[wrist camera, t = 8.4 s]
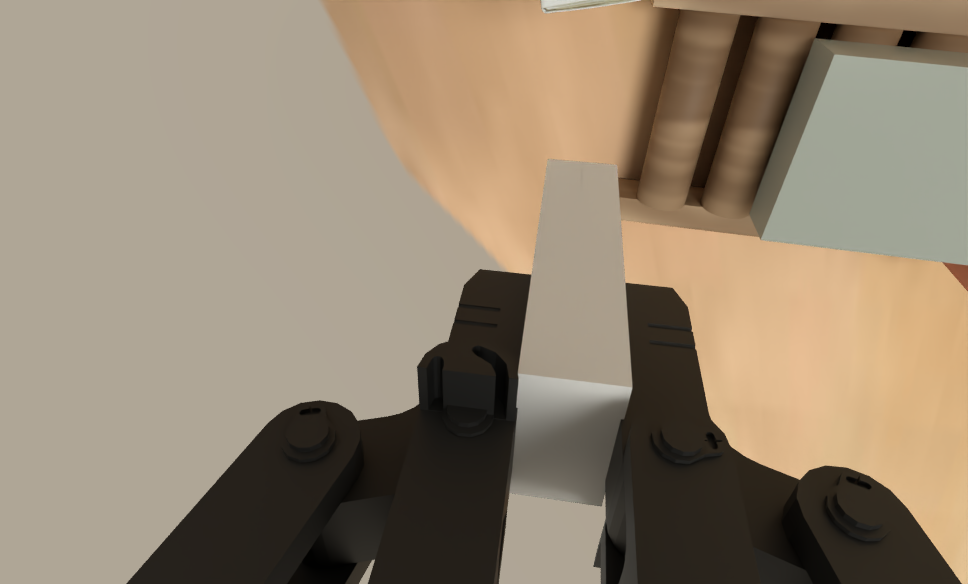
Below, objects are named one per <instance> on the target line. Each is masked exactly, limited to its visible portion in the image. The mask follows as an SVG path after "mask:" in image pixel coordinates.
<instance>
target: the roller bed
mask: <svg viewBox="0 0 968 584" xmlns="http://www.w3.org/2000/svg"><path fill="white" fill-rule="evenodd" d="M650 1H651V3H652V6H653V7H662V8H673V9H680V13H679V18H678V22H677V26H676V30H675V35H674V39H673V43H672V47H671V51H670V56H669V60H668V64H667V68H666V73H665V77H664V81H663V85H662V89H661V94H660V98H659V102H658V106H657V111H656V115H655V119H654V123H653V127H652V132H651V136H650V140H649V144H648V149H647V153H646V157H645V161H644V165H643V170H642V174H641V178H640V181H639V180H630V179H622V178H618V185H619V200H620V214H621V220H622V221H631V222H639V223H647V224H655V225H664V226H672V227H680V228H689V229H697V230H705V231H714V232H722V233H730V234H738V235H747V236H755V237H759V235H758V233H757V231H756V228H755V226H754V224H753V222H752V219H751V217H750V215H749V213H750V210H751V208H752V205H753V202H754V200H755V197H756V194H757V192H758V189H759V186H760V184H761V181H762V178H763V176H764V173H765V170H766V168H767V165H768V162H769V159H770V157H771V154H772V151H773V149H774V146H775V143H776V141H777V138H778V135H779V133H780V130H781V127H782V125H783V122H784V119H785V117H786V114H787V111H788V109H789V106H790V103H791V101H792V98H793V95H794V93H795V90H796V87H797V85H798V82H799V79H800V76H801V74H802V71H803V68H804V66H805V63H806V60H807V58H808V55H809V52H810V50H811V47H812V44H813V42H814V39H815V37H816V35H817V32H818V29H819V27H820V24H821V22H824V23H835V24H837V25H836V28H835V30H834V33H833V35H832V38H831V40H838V41H848V42H858V43H869V44H879V45H889V46H897V44H898V41H899V39H900V37H901V35H902V33H903V30H910V31H917V33H916V35H915V37H914V39H913V41H912V43H911V46H910V48H920V49H931V50H941V51H951V52H961V53H968V0H650ZM740 15H749V16H758V18H757V22H756V25H755V28H754V31H753V35H752V38H751V41H750V44H749V47H748V51H747V54H746V57H745V60H744V63H743V67H742V70H741V73H740V76H739V80H738V83H737V86H736V89H735V92H734V96H733V99H732V102H731V105H730V108H729V112H728V115H727V118H726V121H725V125H724V128H723V131H722V134H721V137H720V141H719V144H718V147H717V150H716V153H715V157H714V160H713V163H712V166H711V170H710V173H709V176H708V179H707V182H706V186H705V188H700V187H691V186H690V185H691V181H692V178H693V175H694V171H695V168H696V164H697V161H698V158H699V154H700V151H701V147H702V144H703V141H704V137H705V134H706V130H707V127H708V124H709V120H710V117H711V113H712V110H713V107H714V103H715V100H716V96H717V93H718V90H719V86H720V83H721V79H722V76H723V73H724V69H725V66H726V62H727V59H728V56H729V52H730V49H731V45H732V42H733V39H734V35H735V32H736V28H737V25H738V22H739V18H740Z"/></svg>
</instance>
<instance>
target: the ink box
mask: <svg viewBox="0 0 968 584" xmlns="http://www.w3.org/2000/svg"><path fill="white" fill-rule="evenodd" d="M540 1H541V9H542V11H543V12H544V13H553V12H563V11H573V10H581V9H589V8H596V7H603V6H610V5H616V4H622V3H628V2H634V1H639V0H540Z"/></svg>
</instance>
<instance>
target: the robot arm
mask: <svg viewBox="0 0 968 584" xmlns="http://www.w3.org/2000/svg"><path fill="white" fill-rule="evenodd" d="M691 330H692V326H691V321H690V316H689V311H688V307H687V306H686V304H685V303H684V302H683V301H682V299H681V298H680V297H679V295H678V294H677V293H676V292H675V290H674V289H673V288H668V287H659V286H649V285H640V284H630V283H625V272H624V257H623V243H622V228H621V214H620V200H619V185H618V171H617V165H613V164H601V163H590V162H578V161H567V160H555V159H548V161H547V168H546V175H545V182H544V189H543V197H542V204H541V211H540V218H539V225H538V232H537V239H536V246H535V254H534V261H533V268H532V275H529V274H519V273H510V272H501V271H491V270H482V269H480V270H479V271H478V272H477V273H476V274H475V275H474V276H473V277H472V278H471V279H470V280H469V281H468V282H467V283H466V284H465V285H464V288H463V291H462V295H461V298H460V302H459V308H458V309H457V312H456V316H455V321H454V323H453V326H452V330H451V333H450V337H449V341H448V342H445V343H441V344H439V345H437V346H436V347H434V348H433V349H432V350H430V351H429V352H427V353H426V354H425V355H424V357H423V358H422V360H421V362H420V363H419V365H418V366H417V370H418V388H419V405H417V406H416V407H414V408H412V409H410V410H407V411H405V412H403V413H400V414H396V415H392V416H388V417H381V418H374V419H368V420H360V421H357V420H356V418H355V416H354V415H353V413H352V412H351V411H349V410H348V409H346V408H344V407H343V406H341V405H339V404H337V403H332V402H326V401H312V402H305V403H300V404H298V405H296V406H293V407H291V408H289V409H286V410H284V411H282V412H281V413H280V414H278V415H277V416H276V417H275V418H274V419H272V420H271V421H270V422H269V423H268V424H267V425H266V426H265V427H264V428H263V429H262V430H261V432H260V433H259V434H258V435H257V436H256V437H255V438H254V440H253V441H252V442H251V443H250V444H249V445H248V446H247V447H246V449H245V450H244V451H243V452H242V453H241V454H240V455H239V457H238V458H237V459H236V460H235V461H234V462H233V463H232V465H231V466H230V467H229V468H228V469H227V470H226V471H225V473H224V474H223V475H222V476H221V477H220V478H219V479H218V480H217V482H216V483H215V484H214V485H213V486H212V487H211V488H210V489H209V491H208V492H207V493H206V494H205V495H204V496H203V497H202V499H201V500H200V501H199V502H198V503H197V504H196V505H195V506H194V508H193V509H192V510H191V511H190V512H189V513H188V514H187V516H186V517H185V518H184V519H183V520H182V521H181V522H180V523H179V525H178V526H177V527H176V528H175V529H174V530H173V531H172V533H171V534H170V535H169V536H168V537H167V538H166V539H165V541H164V542H163V543H162V544H161V545H160V546H159V547H158V549H157V550H156V551H155V552H154V553H153V554H152V555H151V556H150V558H149V559H148V560H147V561H146V562H145V563H144V564H143V565H142V567H141V568H140V569H139V570H138V571H137V572H136V573H135V575H134V576H133V577H132V578H131V579H130V580H129V581H128V583H127V584H359V582H360V580H361V578H362V577H363V575H364V573H365V571H366V570H367V568H368V566H369V564H370V563H371V561H372V560H374V559H375V562H374V566H373V569H372V572H371V575H370V579H369V582H368V584H499V576H500V568H501V560H502V551H503V544H504V536H505V528H506V517H507V516H506V515H507V506H508V499H509V493H512V494H519V495H526V496H533V497H540V498H547V499H554V500H561V501H568V502H575V503H582V504H588V505H595V506H602V502H603V499H604V495H605V496H606V520H605V524H604V527H603V531H602V534H601V538H600V542H599V545H598V549H597V553H596V557H595V562H594V567H599V568H601V584H962V583H961V582H960V581H959V579H958V578H957V576H956V575H955V574H954V572H953V571H952V569H951V568H950V567H949V565H948V564H947V563H946V561H945V560H944V558H943V557H942V556H941V554H940V553H939V551H938V550H937V549H936V547H935V546H934V545H933V543H932V542H931V540H930V539H929V538H928V536H927V535H926V533H925V532H924V531H923V529H922V528H921V527H920V525H919V524H918V522H917V521H916V520H915V518H914V517H913V515H912V514H911V513H910V511H909V510H908V509H907V507H906V506H905V505H904V504H903V503H902V502H901V501H900V500H899V499H898V498H897V497H896V496H895V495H894V494H893V493H892V492H891V490H889V489H888V488H886V487H885V486H883V485H882V484H880V483H879V482H877V481H876V480H874V479H873V478H871V477H870V476H867V475H865V474H862V473H859V472H857V471H854V470H851V469H849V468H844V467H834V466H823V467H819V468H816V469H812V470H809V471H808V472H807V473H806V474H805V475H804V476H803V477H802V478H801V480H799V479H796V478H794V477H791V476H789V475H786V474H784V473H781V472H779V471H776V470H773V469H771V468H768V467H766V466H763V465H761V464H759V463H757V462H755V461H753V460H751V459H749V458H746V457H745V456H743V455H742V454H740V453H739V452H738V451H736V450H735V449H733V448H732V447H731V446H730V445H729V443H728V440H727V438H726V436H725V434H724V433H723V432H722V431H721V430H720V429H719V428H718V427H717V426H716V425H715V424H714V422H713V421H712V420H711V418H710V416H709V412H708V407H707V402H706V397H705V392H704V387H703V382H702V377H701V372H700V367H699V362H698V356H697V351H696V349H695V341H694V336H693V332H691Z"/></svg>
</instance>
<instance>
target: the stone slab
mask: <svg viewBox="0 0 968 584" xmlns="http://www.w3.org/2000/svg"><path fill="white" fill-rule="evenodd" d="M749 215H750V217H751V219H752V222H753V224H754V226H755V228H756V231H757V233H758V235H759V237H760V240H765V241H773V242H781V243H790V244H798V245H806V246H814V247H822V248H830V249H839V250H847V251H855V252H863V253H871V254H879V255H888V256H896V257H904V258H912V259H920V260H928V261H937V262H945V263H953V264H961V265H968V53H961V52H951V51H941V50H931V49H920V48H910V47H900V46H889V45H879V44H869V43H858V42H848V41H838V40H827V39H817V38H815V39H814V42H813V44H812V47H811V50H810V52H809V55H808V58H807V60H806V63H805V66H804V68H803V71H802V74H801V76H800V79H799V82H798V85H797V87H796V90H795V93H794V95H793V98H792V101H791V103H790V106H789V109H788V111H787V114H786V117H785V119H784V122H783V125H782V127H781V130H780V133H779V135H778V138H777V141H776V143H775V146H774V149H773V151H772V154H771V157H770V159H769V162H768V165H767V168H766V170H765V173H764V176H763V178H762V181H761V184H760V186H759V189H758V192H757V194H756V197H755V200H754V202H753V205H752V208H751V210H750V213H749Z"/></svg>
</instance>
